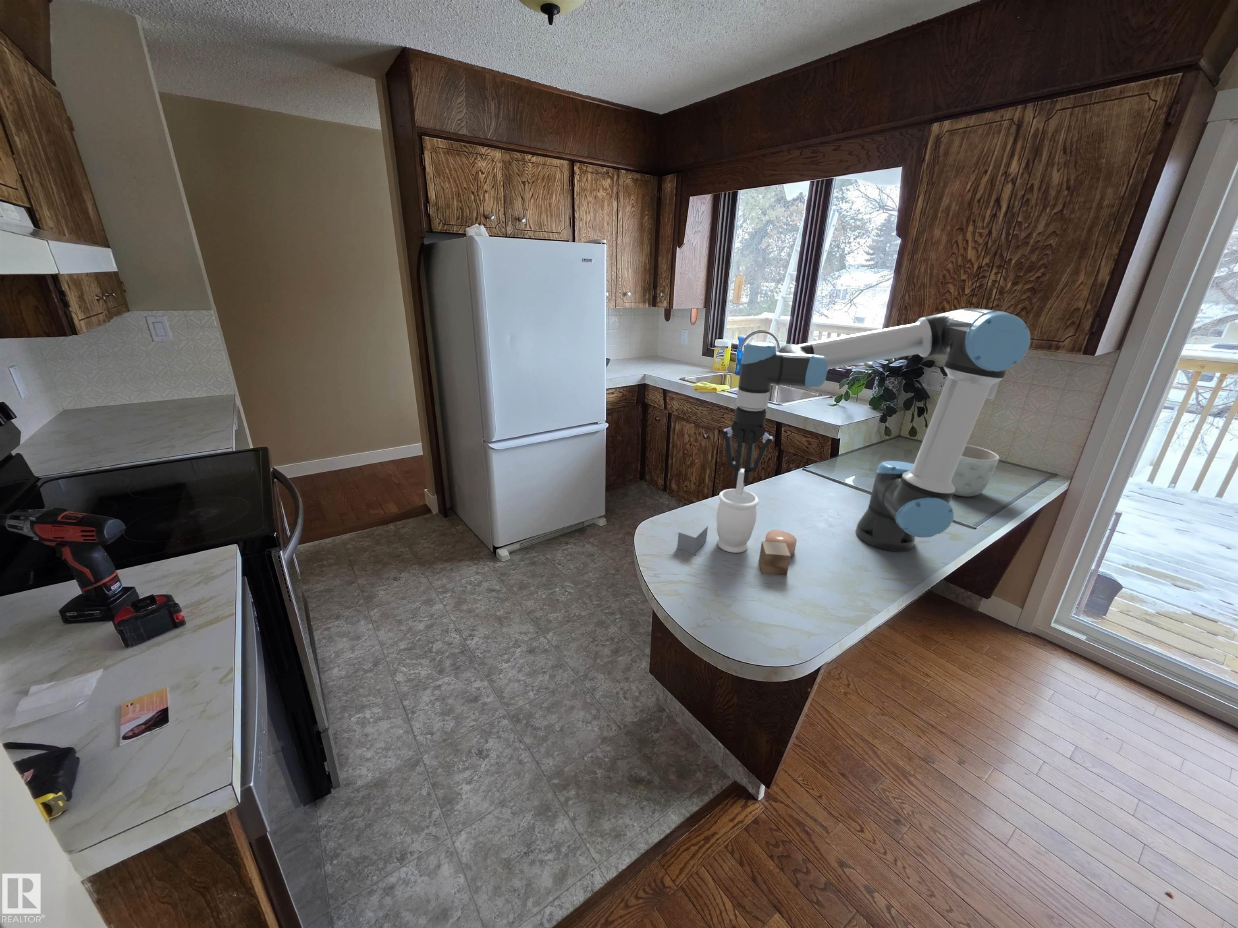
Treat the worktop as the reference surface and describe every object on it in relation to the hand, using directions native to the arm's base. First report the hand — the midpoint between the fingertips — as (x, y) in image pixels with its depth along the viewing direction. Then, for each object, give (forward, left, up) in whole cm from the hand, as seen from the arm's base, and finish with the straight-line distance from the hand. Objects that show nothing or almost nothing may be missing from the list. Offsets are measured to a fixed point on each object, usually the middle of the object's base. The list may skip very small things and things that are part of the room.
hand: (739, 493), depth 132 cm
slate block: (+10, +5, -16) cm, 20 cm away
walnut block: (-12, +6, -16) cm, 21 cm away
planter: (-62, -77, -16) cm, 100 cm away
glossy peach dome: (-12, -4, -16) cm, 20 cm away
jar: (0, 0, -16) cm, 16 cm away
